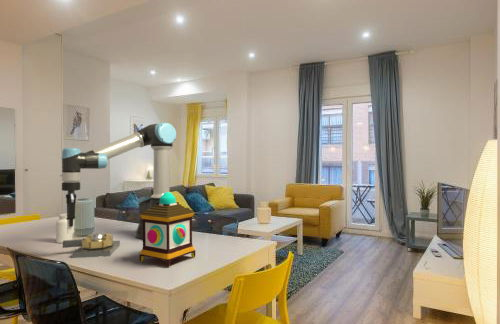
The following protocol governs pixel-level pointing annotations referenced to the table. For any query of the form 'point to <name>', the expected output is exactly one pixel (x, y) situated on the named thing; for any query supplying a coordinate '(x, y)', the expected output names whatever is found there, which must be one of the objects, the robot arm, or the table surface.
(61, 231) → the pill bottle
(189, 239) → the decorative lantern
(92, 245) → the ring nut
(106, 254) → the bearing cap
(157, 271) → the table surface
